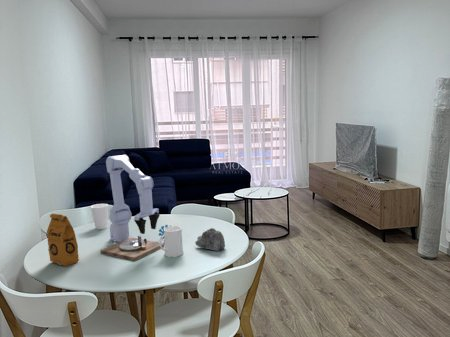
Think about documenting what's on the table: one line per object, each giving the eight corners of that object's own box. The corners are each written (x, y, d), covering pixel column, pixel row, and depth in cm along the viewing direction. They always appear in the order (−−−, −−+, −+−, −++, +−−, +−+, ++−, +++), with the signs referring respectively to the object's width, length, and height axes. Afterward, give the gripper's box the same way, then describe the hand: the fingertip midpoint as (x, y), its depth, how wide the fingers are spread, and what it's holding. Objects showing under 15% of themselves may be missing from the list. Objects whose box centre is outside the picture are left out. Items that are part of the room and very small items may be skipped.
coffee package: (62, 269, 168) (56, 219, 165) (47, 263, 176) (41, 215, 172) (82, 261, 176) (78, 213, 173) (67, 255, 184) (62, 210, 180)
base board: (100, 253, 185) (99, 245, 185) (130, 240, 202) (130, 233, 202) (134, 260, 174) (134, 253, 174) (164, 246, 191) (163, 239, 190)
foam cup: (92, 226, 229) (90, 205, 227) (108, 224, 233) (106, 202, 231) (94, 231, 220) (91, 208, 218) (110, 228, 224) (109, 206, 222)
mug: (165, 260, 173) (163, 234, 171) (155, 255, 179) (153, 230, 178) (187, 253, 181) (185, 228, 179) (176, 249, 187) (175, 224, 185)
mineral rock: (194, 247, 189) (193, 227, 187) (212, 242, 195) (212, 222, 193) (208, 254, 178) (207, 233, 177) (228, 249, 184) (227, 228, 183)
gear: (161, 242, 193) (157, 224, 198) (157, 247, 197) (154, 230, 202) (182, 240, 198) (178, 223, 203) (178, 246, 202) (174, 229, 208)
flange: (114, 248, 186) (113, 236, 185) (132, 240, 196) (131, 229, 195) (136, 252, 179) (135, 240, 178) (153, 244, 189) (152, 233, 188)
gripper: (142, 207, 174) (144, 236, 176) (162, 200, 186) (164, 227, 188) (130, 206, 177) (132, 234, 180) (151, 198, 190) (153, 226, 192)
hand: (148, 231), depth 184 cm, fingers open, 7 cm apart
